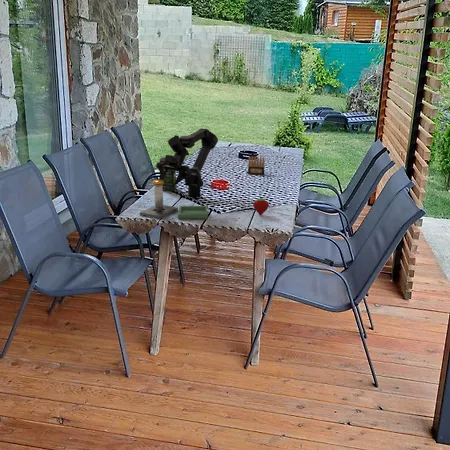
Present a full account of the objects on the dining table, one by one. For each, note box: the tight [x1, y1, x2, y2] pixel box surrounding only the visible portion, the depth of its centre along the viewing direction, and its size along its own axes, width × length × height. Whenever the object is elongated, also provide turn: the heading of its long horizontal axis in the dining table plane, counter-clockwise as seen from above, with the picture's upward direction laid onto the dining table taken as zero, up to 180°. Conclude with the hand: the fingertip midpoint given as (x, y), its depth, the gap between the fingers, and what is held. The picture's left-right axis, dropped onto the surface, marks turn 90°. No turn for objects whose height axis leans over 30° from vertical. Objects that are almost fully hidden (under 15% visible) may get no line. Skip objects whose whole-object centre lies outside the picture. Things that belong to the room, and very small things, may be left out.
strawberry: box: [253, 197, 270, 216], centre depth 259 cm, size 6×8×10 cm
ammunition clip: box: [247, 155, 266, 176], centre depth 341 cm, size 11×2×12 cm, turn 83°
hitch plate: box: [139, 204, 179, 220], centre depth 262 cm, size 16×12×2 cm
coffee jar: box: [159, 156, 178, 192], centre depth 302 cm, size 10×8×19 cm
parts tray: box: [177, 205, 209, 220], centre depth 260 cm, size 14×14×2 cm
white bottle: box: [152, 179, 164, 212], centre depth 260 cm, size 5×5×16 cm
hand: (167, 183), depth 265 cm, fingers open, 9 cm apart
